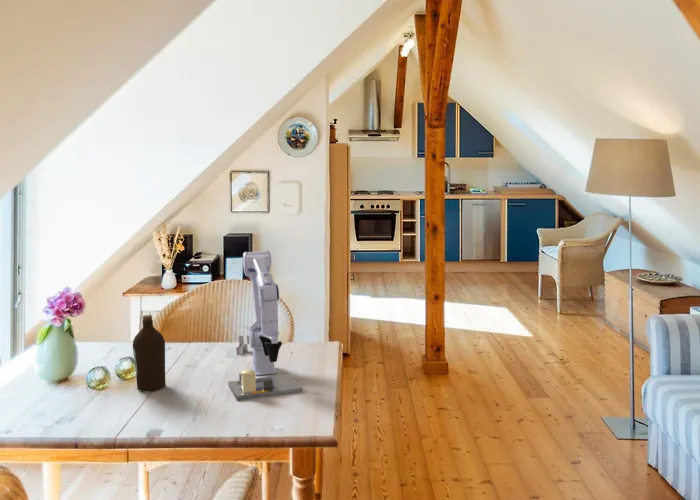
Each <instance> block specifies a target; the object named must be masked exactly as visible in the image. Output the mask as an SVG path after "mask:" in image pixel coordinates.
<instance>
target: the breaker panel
mask: <svg viewBox="0 0 700 500" xmlns="http://www.w3.org/2000/svg"><path fill="white" fill-rule="evenodd" d="M264 378H271V379H272V383H273V388H270V389H263V387H262V379H264ZM255 381H256V391H253V392H246V393H244V392H243V390H242V384H241V383H240V382H239V380H232V381H231V380H230V381H228V383H227V384H228V388H229V389H230V391H231V392H232V394H233V396H234V398H235V400H236V401H244V400H250V399H259V398H265V397H267V398H269V397H273V396H280V395H281V396H282V395H289V394H295V393H296V394H298V393H302V392H303V387H302V385H301V384H300V383H299V381H298V380H296V378H295V377H294V376H293V375H292V374H291V373H289V374H280V375H272V376H271V375H270V376H264V377H255Z"/></svg>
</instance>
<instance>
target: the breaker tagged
mask: <svg viewBox="0 0 700 500" xmlns="http://www.w3.org/2000/svg"><path fill="white" fill-rule="evenodd" d="M262 387H263V389H270V388H273V383H272V379H271V378H264V379H262Z"/></svg>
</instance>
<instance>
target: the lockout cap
mask: <svg viewBox="0 0 700 500" xmlns="http://www.w3.org/2000/svg"><path fill="white" fill-rule="evenodd" d="M240 374H241V383H242V390H243V392H244V393H246V392H253V391H256V381H255V378H256V375H255V371H254V370H252V369H251V368H250V369H243V370H241V372H240Z"/></svg>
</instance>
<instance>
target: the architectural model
mask: <svg viewBox="0 0 700 500" xmlns="http://www.w3.org/2000/svg"><path fill="white" fill-rule="evenodd" d="M246 341H247V342H246V343H245V341H244V336H243V335H239V336H238V343H239V344H238V346H236V349H235V350H236V355H243V354H244V352H248V348H249V347H248V345H250V343H249V335H246ZM282 358H283V357H282Z"/></svg>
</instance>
